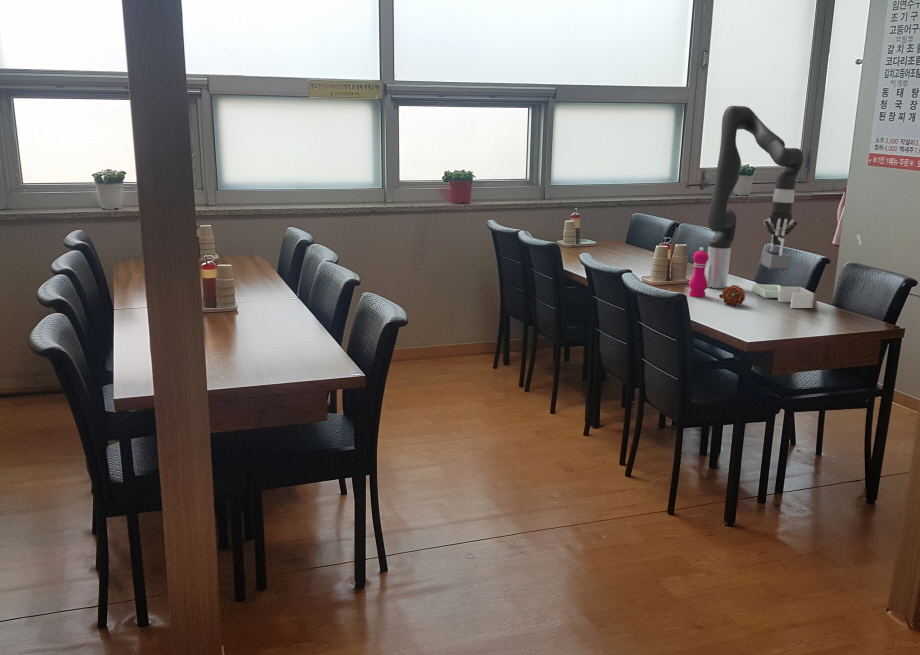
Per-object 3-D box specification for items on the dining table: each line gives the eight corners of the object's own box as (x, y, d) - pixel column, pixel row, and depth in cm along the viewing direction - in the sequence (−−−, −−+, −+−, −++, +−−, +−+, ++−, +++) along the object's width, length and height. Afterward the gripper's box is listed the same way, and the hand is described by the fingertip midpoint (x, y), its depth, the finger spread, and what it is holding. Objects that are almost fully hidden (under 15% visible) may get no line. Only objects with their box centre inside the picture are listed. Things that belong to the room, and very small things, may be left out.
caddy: (770, 269, 312) (774, 238, 308) (760, 264, 321) (764, 234, 318) (787, 269, 312) (792, 239, 308) (778, 264, 321) (782, 235, 318)
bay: (791, 308, 307) (793, 293, 305) (778, 301, 319) (779, 286, 318) (812, 309, 307) (814, 293, 306) (798, 301, 319) (800, 287, 318)
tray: (764, 298, 324) (765, 291, 323) (752, 291, 337) (752, 284, 336) (790, 299, 324) (791, 291, 323) (777, 291, 337) (778, 284, 336)
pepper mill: (704, 294, 329) (709, 246, 324) (707, 298, 322) (712, 248, 317) (686, 293, 330) (691, 245, 325) (689, 297, 323) (694, 248, 318)
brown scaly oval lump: (735, 312, 305) (724, 309, 317) (754, 299, 305) (742, 297, 317) (723, 294, 304) (712, 292, 316) (742, 281, 304) (730, 280, 316)
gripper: (796, 200, 313) (790, 244, 318) (762, 199, 313) (756, 243, 318) (804, 202, 306) (798, 247, 311) (769, 201, 306) (763, 246, 311)
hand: (777, 244), depth 314 cm, fingers closed on caddy, 1 cm apart
